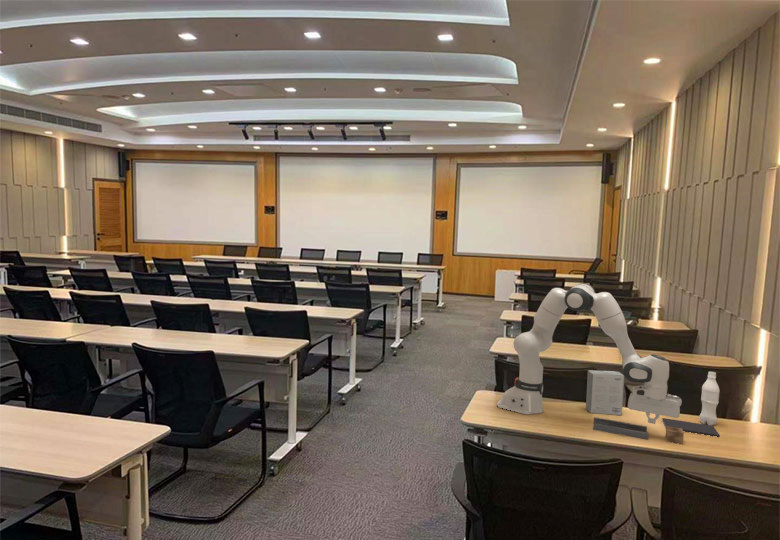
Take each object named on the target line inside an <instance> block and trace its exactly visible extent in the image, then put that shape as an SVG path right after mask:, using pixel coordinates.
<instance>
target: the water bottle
mask: <svg viewBox="0 0 780 540" xmlns="http://www.w3.org/2000/svg"><path fill="white" fill-rule="evenodd" d="M716 378H717V373H716V371H708V373H707V377H706V381H705V382H704V383H703V384H702V386H701V396H700V397H701V398H700V400H701V411H700V412H701V413H700V414H699V421H700V424H705V425H706V423H707V425H711V426H715V425H716V424H717V422H718V418H717V410H716V409H717V407H718V404H719V402H720V401H719V400H720V399H719V398H720V387H719V385H718V382H717V380H716Z"/></svg>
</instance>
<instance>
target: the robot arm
mask: <svg viewBox="0 0 780 540" xmlns="http://www.w3.org/2000/svg"><path fill="white" fill-rule="evenodd" d="M567 309H570V310H571V311H576V312H581V311H590V310H591V311H592V312H593V314H594V316H595V318H596V321H597V322H598V324H599V327H600V328H601V330H602V331H603V332H604V334H605V335H606V336H608V337H610V338H611V339H612V340H613V341H614V343H615V344H616V347H617V349H618V352H619V353H620V355H621V358H622V361H621V362H622V364H621V365H622V374H623V375H624V379H625V380H627V381H629V382H632V383H641V384H642V383H644V384H642V385H634V386H633V387H632V392H631V393H630V394H629V397H628V401H627V408H628V409H629V410H633V411H638V412H643V413H645V414H646V418H647V423H649V424H655V425H656V422H657V420H659V418H660V416H665V417H669V418H673V419H675V418H676V419H678V418H680V415H681V413H680V412H681V408H680V407H681V406H682V403H683V401H682V398H681V397H679V396H678V395H673V394H669V393H668V380H669V377H670V364H669V360H667V358H665V357H664V356H661V355H659V354H655V353H654V354H653V353H652V354H651V353H650V354H649V355H648V356H645V357H642V356H641V355H640V354H638V353H637V351H636V350H635V347H634V346H633V344H632V341H631V339H630V338H629V335H628V325H627V322H626V318H625V315H624V313H623V311H622V309H621V307H620V305H619V303H618V302H617V300H616V298H614V296H613V295H612V294H611V293H610V292H607V291H601V292H598V293H596V289H595V288H594V286H592V285H591V284H589V283H585V282H583V283H582V282H581V283H577V284H575V285H574V286H572V287H571V288H569V289H568V290H565V289H564V288H561V287H553V288H551V290H550V291H549V292H548V293H547V294H546V296H545V297H544V298H543V300H542V301H541V303H540V305H539V307H538V309H537V311H536V313H535V314H534V316H533V325H532V328H531V329H530V330H529V331H526V332H525V331H524V332H521V333H520V334H518V335H517V336H516V337H515V338H514V340H513V348H514V351H516V353H517V355H518V361H519V376H518V377H516V378H515V379H514V386H512V387H510V388H508V389H507V390H505V391H504V393H503V394H502V396H501V398H500V399H499V400H498V401H497V403H496V407H497V406H498V407H497V408H498V409H502V408H503V409H502V410H506V409H507V410H506V411H510V410H511V411H510V412H514V411H515V412H514V413H519V414H521V415H532V414H534V415H535V414H541V413H544V412H545V410H544V405H543V393H544V382H543V379H544V378H543V375H544V374H543V373H544V366H543V364H542V363H541V360H540V353H543V352H545V351H546V350H549V348H550V347H551V346H552V344H553V336H554V332H555V330H556V328H557V326H558V324H559V322H560V320H561V318H562V317H563V315H564V313H565V311H566V310H567ZM651 414H652V415H653V414H654V415H655V417H654V418H653V417H650V415H651Z"/></svg>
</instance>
